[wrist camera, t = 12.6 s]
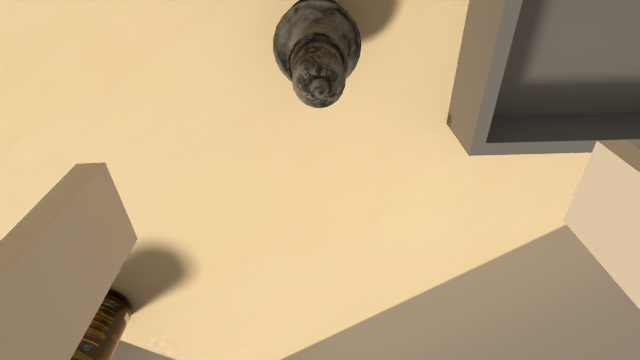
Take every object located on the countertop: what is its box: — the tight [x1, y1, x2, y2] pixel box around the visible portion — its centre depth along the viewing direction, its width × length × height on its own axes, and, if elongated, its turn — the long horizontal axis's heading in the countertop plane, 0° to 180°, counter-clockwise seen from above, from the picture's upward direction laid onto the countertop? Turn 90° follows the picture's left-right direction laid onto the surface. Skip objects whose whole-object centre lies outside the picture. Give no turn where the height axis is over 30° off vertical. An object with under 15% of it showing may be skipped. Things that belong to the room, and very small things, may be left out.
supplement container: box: [70, 290, 131, 360], centre depth 40 cm, size 7×7×10 cm
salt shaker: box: [273, 0, 361, 108], centre depth 23 cm, size 6×6×12 cm
